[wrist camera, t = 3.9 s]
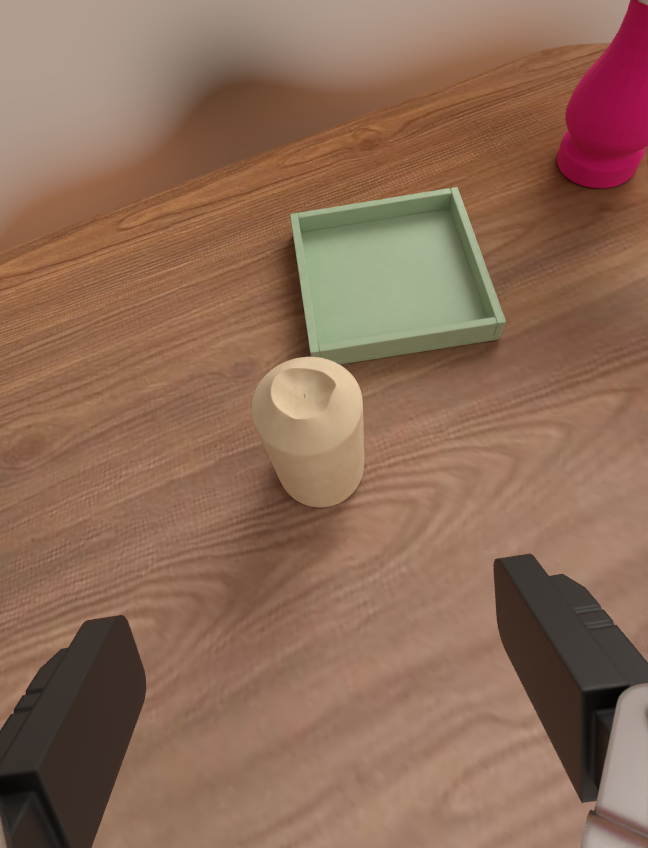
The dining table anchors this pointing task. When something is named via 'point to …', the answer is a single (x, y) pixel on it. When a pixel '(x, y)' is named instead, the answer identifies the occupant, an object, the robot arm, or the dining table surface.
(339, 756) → the dining table surface
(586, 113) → the pepper mill
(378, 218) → the tray
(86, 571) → the dining table surface
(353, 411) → the candle
